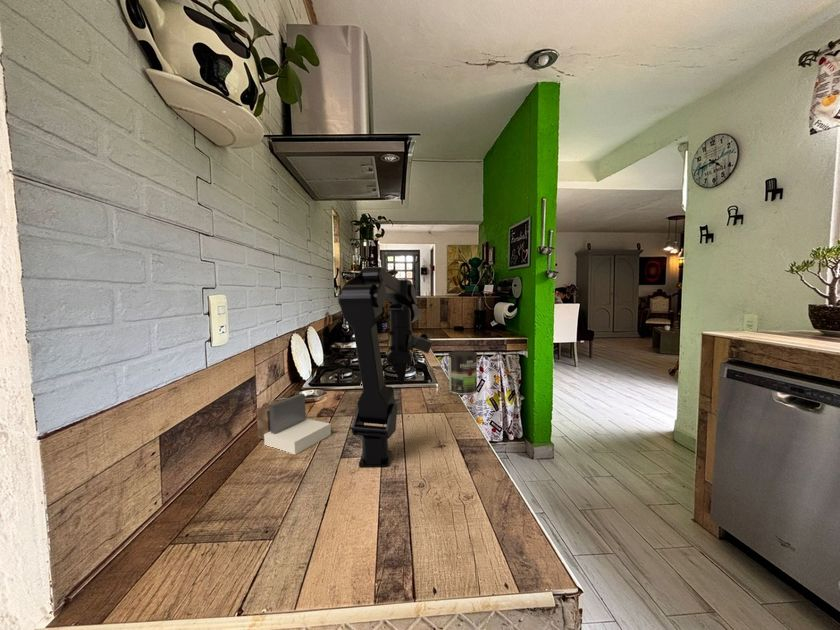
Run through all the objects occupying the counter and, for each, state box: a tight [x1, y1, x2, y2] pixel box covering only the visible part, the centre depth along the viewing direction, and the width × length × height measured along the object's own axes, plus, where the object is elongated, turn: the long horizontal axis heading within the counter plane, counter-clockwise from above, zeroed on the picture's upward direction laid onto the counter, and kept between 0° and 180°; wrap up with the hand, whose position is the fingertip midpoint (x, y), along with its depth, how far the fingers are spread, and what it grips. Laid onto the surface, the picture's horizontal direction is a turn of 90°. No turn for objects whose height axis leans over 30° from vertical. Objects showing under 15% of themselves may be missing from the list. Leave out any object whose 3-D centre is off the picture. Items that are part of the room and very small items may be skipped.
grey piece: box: [268, 393, 307, 434], centre depth 90 cm, size 8×10×7 cm
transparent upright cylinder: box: [448, 350, 478, 396], centre depth 126 cm, size 10×10×14 cm
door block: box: [263, 418, 332, 456], centre depth 88 cm, size 10×12×3 cm
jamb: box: [256, 399, 283, 439], centre depth 92 cm, size 4×8×8 cm, turn 152°
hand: (402, 382), depth 96 cm, fingers closed
